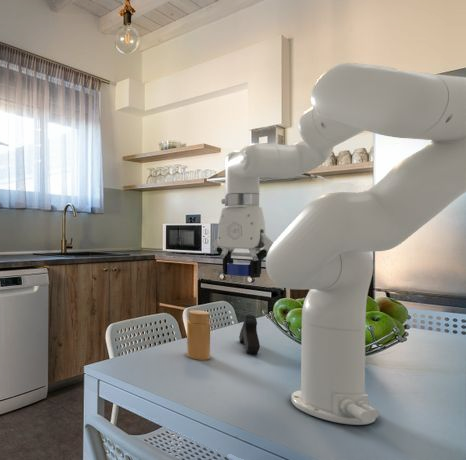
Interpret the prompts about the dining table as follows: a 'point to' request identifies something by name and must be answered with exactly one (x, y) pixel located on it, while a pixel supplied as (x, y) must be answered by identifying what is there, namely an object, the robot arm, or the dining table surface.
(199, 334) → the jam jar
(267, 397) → the dining table surface
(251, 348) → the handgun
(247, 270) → the jar lid
